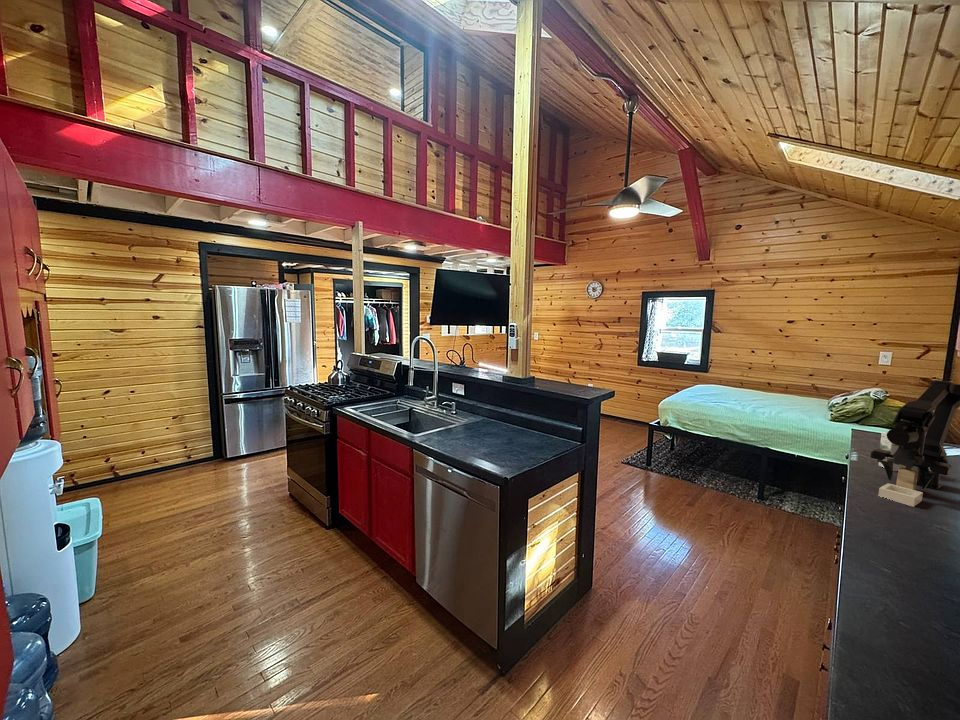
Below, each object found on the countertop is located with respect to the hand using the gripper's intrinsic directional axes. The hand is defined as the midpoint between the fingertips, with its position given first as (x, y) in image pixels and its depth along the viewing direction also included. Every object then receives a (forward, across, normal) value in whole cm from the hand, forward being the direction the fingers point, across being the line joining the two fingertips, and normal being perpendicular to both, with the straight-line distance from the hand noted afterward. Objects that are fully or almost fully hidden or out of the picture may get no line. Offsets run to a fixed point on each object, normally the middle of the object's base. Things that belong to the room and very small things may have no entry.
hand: (906, 484), depth 139 cm
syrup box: (+3, -10, +25) cm, 27 cm away
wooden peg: (+3, 0, 0) cm, 3 cm away
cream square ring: (+2, +1, -10) cm, 10 cm away
